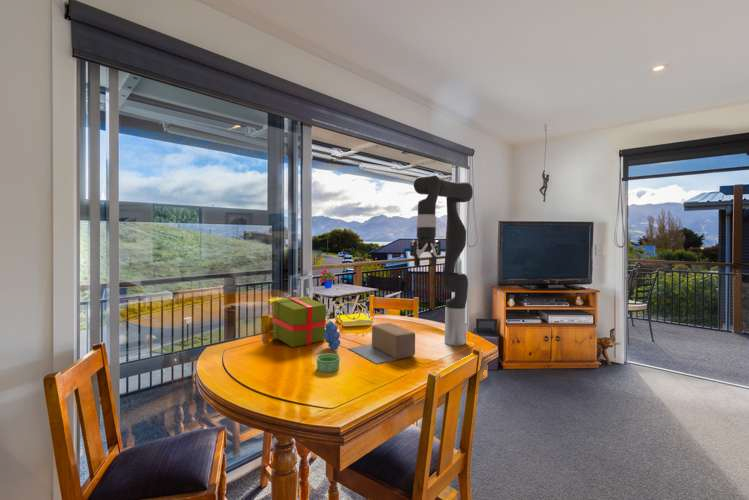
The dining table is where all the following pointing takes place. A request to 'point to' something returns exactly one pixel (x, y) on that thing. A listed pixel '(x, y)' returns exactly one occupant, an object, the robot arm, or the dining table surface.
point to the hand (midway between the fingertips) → (425, 266)
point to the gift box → (299, 321)
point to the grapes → (332, 335)
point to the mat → (373, 354)
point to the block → (393, 340)
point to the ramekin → (328, 362)
